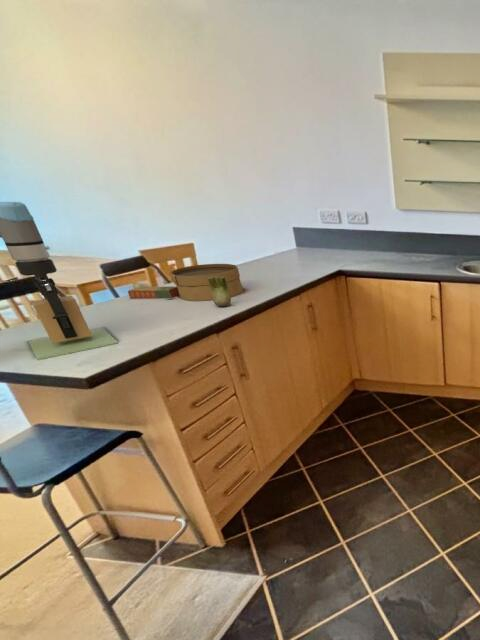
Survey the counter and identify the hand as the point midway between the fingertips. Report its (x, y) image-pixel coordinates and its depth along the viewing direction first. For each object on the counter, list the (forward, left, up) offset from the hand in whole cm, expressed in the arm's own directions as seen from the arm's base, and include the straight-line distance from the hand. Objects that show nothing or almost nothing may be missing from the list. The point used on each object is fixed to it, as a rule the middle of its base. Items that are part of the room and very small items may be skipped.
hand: (69, 334), depth 131 cm
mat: (0, 0, -3) cm, 3 cm away
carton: (-47, +33, -3) cm, 58 cm away
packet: (0, 0, -1) cm, 1 cm away
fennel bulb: (-12, +47, -3) cm, 49 cm away
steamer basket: (-37, +51, -3) cm, 63 cm away
